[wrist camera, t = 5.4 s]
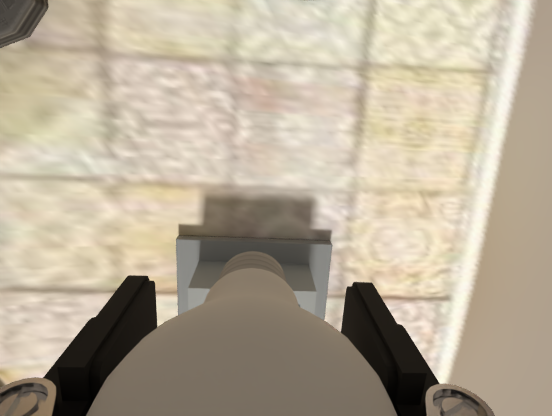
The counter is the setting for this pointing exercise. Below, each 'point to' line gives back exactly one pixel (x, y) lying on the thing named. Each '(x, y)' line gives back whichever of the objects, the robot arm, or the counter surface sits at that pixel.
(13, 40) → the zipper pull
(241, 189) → the counter surface
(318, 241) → the socket holder
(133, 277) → the robot arm
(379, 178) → the counter surface
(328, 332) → the lightbulb
